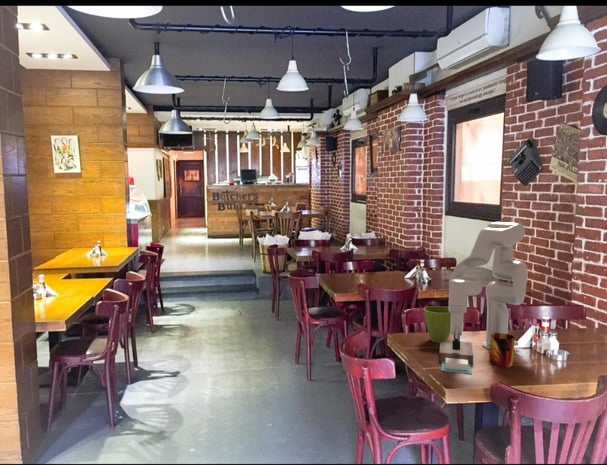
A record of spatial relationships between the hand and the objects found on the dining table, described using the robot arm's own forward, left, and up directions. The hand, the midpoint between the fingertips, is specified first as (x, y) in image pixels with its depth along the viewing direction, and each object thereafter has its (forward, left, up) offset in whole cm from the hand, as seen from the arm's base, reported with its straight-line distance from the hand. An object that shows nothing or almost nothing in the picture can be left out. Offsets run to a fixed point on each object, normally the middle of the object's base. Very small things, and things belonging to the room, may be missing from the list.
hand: (456, 349), depth 217 cm
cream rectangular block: (0, +8, -3) cm, 9 cm away
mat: (0, +8, -5) cm, 10 cm away
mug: (-20, -3, -6) cm, 21 cm away
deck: (0, -8, -5) cm, 10 cm away
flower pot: (+8, -30, -6) cm, 32 cm away
